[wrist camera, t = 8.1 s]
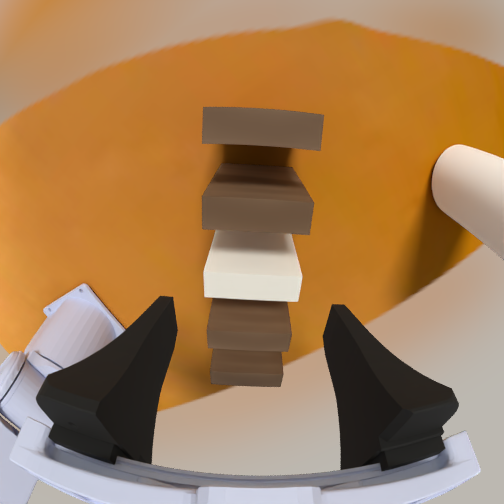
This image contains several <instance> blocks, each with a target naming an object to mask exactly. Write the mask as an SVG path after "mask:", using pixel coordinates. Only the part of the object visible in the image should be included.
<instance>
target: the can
mask: <svg viewBox="0 0 504 504" xmlns="http://www.w3.org/2000/svg"><path fill="white" fill-rule="evenodd" d="M432 192H433V197H434V200H435V202H436V204H437V206H438V207H439V208H440V209H441V210H442V211H443V212H444V213H446V214H447V215H448V216H449V217H451V218H452V219H453V220H455V221H456V222H457V223H459V224H460V225H461V226H463V227H464V228H465V229H467V230H468V231H469V232H470V233H472V234H473V235H474V236H475V237H477V238H478V239H479V240H480V241H482V242H483V243H484V244H485V245H486V246H488V247H489V248H490V249H491V250H492V251H494V252H495V253H496V254H497V255H498V256H499V257H500V258H502V259H503V260H504V159H503V158H500V157H498V156H495V155H492V154H489V153H487V152H484V151H481V150H478V149H475V148H472V147H469V146H465V145H454V146H451V147H449V148H448V149H446V150H445V151H444V152H443V153H442V154H441V156H440V157H439V159H438V160H437V162H436V164H435V167H434V170H433V175H432Z"/></svg>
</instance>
